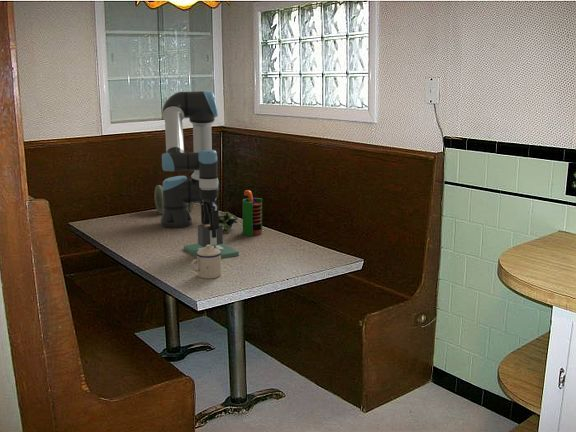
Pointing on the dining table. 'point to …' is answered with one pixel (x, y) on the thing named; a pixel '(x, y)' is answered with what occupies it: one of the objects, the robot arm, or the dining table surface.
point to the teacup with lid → (208, 262)
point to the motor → (252, 215)
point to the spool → (159, 200)
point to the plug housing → (208, 235)
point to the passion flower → (227, 220)
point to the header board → (224, 249)
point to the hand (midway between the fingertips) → (210, 243)
